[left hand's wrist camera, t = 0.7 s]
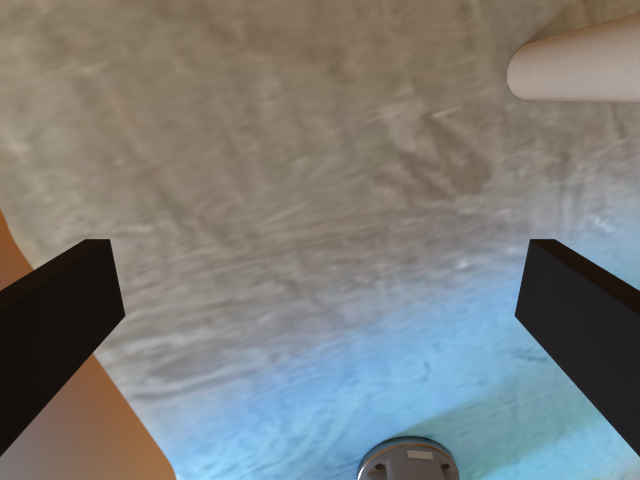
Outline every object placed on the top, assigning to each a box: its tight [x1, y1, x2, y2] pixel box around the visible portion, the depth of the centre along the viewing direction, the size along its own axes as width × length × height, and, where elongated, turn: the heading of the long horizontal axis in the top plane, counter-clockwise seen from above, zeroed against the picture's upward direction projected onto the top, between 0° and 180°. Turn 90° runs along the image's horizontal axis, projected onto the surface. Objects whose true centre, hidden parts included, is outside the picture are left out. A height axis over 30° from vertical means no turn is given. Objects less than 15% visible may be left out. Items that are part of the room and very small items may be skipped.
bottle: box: [507, 13, 640, 103], centre depth 28 cm, size 6×6×25 cm
